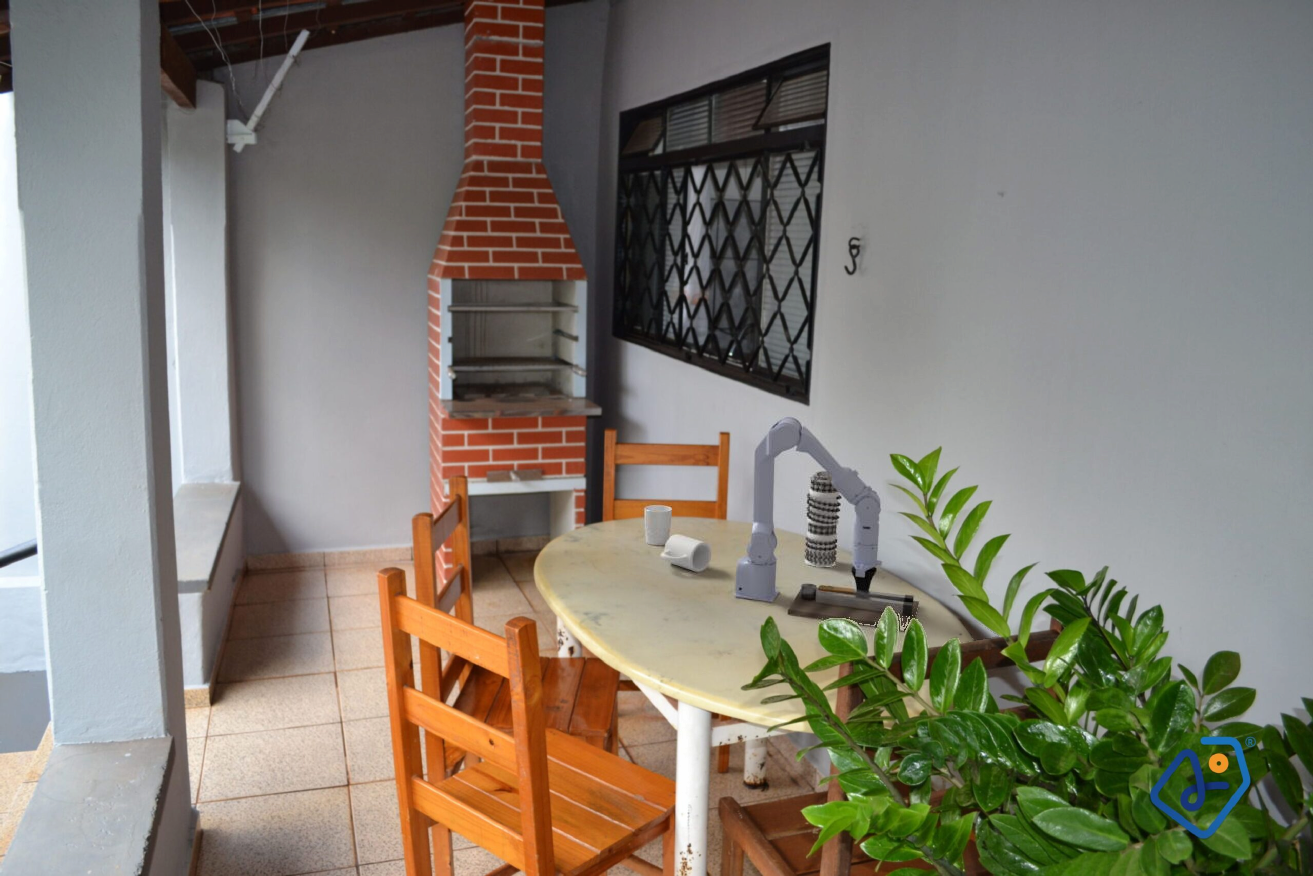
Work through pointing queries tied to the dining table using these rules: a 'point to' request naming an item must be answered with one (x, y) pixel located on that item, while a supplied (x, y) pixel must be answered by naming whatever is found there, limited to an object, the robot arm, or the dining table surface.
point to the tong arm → (851, 593)
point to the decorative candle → (822, 521)
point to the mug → (687, 552)
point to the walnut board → (840, 611)
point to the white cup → (657, 524)
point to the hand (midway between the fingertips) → (862, 597)
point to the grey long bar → (863, 602)
